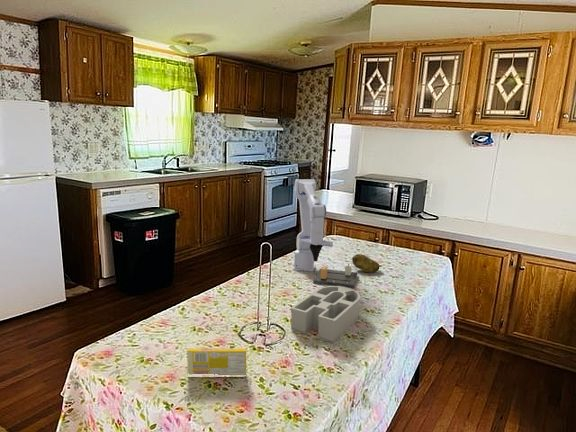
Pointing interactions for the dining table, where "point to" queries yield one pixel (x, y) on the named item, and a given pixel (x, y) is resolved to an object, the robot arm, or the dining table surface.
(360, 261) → the potato
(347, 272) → the fader far
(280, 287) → the dining table surface
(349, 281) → the console
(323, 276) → the fader near
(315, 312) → the grey compartment organizer
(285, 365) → the dining table surface
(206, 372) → the candy box
